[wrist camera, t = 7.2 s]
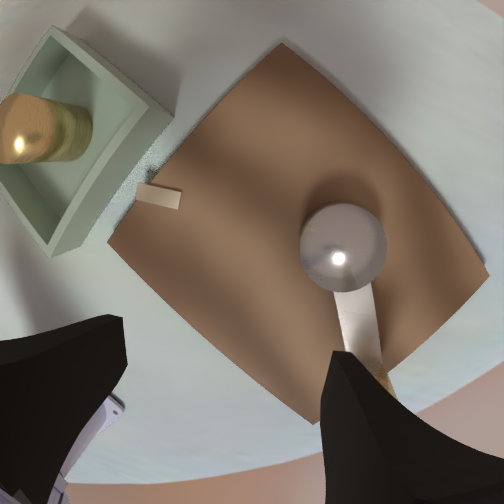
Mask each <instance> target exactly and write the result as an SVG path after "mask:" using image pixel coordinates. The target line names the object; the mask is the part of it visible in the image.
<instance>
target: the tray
mask: <svg viewBox="0 0 504 504" xmlns="http://www.w3.org/2000/svg"><path fill="white" fill-rule="evenodd" d="M13 93H21V94H27V95H32V96H37V97H42V98H47V99H51V100H56V101H61V102H65V103H69V104H74V105H78V106H82V107H84V108H85V109H86V110H87V111H88V112H89V113H90V115H91V118H92V122H93V134H92V139H91V142H90V144H89V146H88V148H87V150H86V151H85V153H84V154H83V155H82V156H81V157H80V158H78V159H77V160H75V161H72V162H39V163H15V164H2V163H0V192H1V193H2V195H3V196H4V198H5V199H6V201H7V202H8V204H9V205H10V207H11V208H12V210H13V211H14V212H15V214H16V215H17V217H18V218H19V220H20V221H21V222H22V224H23V225H24V227H25V228H26V229H27V231H28V232H29V233H30V235H31V236H32V237H33V239H34V240H35V241H36V243H37V244H38V245H39V246H40V248H41V249H42V250H43V252H44V253H45V254H46V255H47V257H48V258H49V259H50V258H53V257H55V256H57V255H60V254H62V253H65V252H67V251H70V250H72V249H75V248H78V247H80V246H81V244H82V243H83V241H84V239H85V238H86V236H87V235H88V233H89V231H90V230H91V228H92V227H93V225H94V224H95V222H96V221H97V219H98V218H99V216H100V215H101V213H102V212H103V210H104V209H105V207H106V206H107V204H108V203H109V201H110V200H111V198H112V197H113V195H114V194H115V193H116V191H117V190H118V188H119V187H120V186H121V184H122V183H123V181H124V180H125V179H126V177H127V176H128V175H129V173H130V172H131V171H132V169H133V168H134V167H135V165H136V164H137V163H138V161H139V160H140V159H141V157H142V156H143V155H144V154H145V152H146V151H147V150H148V148H149V147H150V146H151V145H152V143H153V142H154V141H155V140H156V139H157V137H158V136H159V135H160V134H161V132H162V131H163V130H164V129H165V128H166V126H167V125H168V124H169V123H170V122H171V121H172V119H173V118H174V117H173V116H172V115H171V114H170V113H169V112H168V111H167V110H165V109H164V108H163V107H162V106H161V105H160V104H159V103H157V102H156V101H155V100H154V99H153V98H152V97H150V96H149V95H148V94H147V93H146V92H145V91H143V90H142V89H141V88H140V87H139V86H138V85H136V84H135V83H134V82H133V81H132V80H130V79H129V78H128V77H127V76H126V75H124V74H123V73H122V72H121V71H120V70H118V69H117V68H116V67H115V66H114V65H112V64H111V63H110V62H109V61H107V60H106V59H105V58H104V57H103V56H101V55H100V54H99V53H98V52H96V51H95V50H94V49H93V48H91V47H90V46H89V45H88V44H86V43H85V42H84V41H83V40H81V39H80V38H78V37H76V36H74V35H72V34H70V33H68V32H66V31H64V30H62V29H60V28H58V27H55V26H53V25H52V26H51V27H50V29H49V30H48V31H47V33H46V34H45V35H44V37H43V38H42V40H41V41H40V43H39V44H38V45H37V47H36V48H35V50H34V51H33V53H32V54H31V56H30V57H29V59H28V61H27V62H26V64H25V65H24V67H23V68H22V70H21V72H20V73H19V75H18V77H17V79H16V80H15V82H14V84H13V85H12V87H11V89H10V91H9V93H8V95H7V96H6V98H7V97H8V96H9V95H11V94H13Z"/></svg>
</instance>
